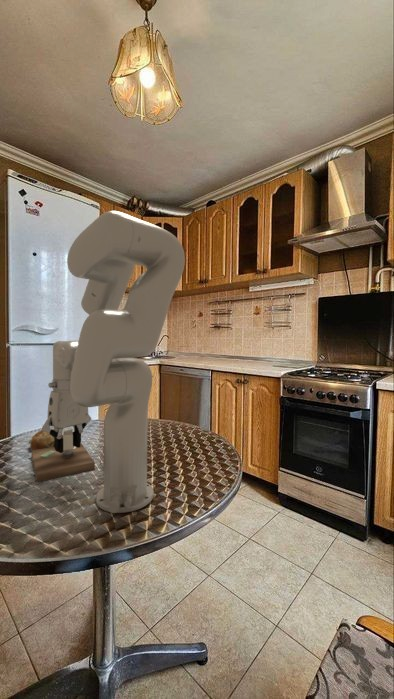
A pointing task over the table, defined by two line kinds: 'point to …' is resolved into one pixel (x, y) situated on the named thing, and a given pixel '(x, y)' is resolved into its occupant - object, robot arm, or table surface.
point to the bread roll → (42, 440)
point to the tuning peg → (67, 443)
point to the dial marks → (51, 453)
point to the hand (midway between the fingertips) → (68, 448)
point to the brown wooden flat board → (61, 463)
